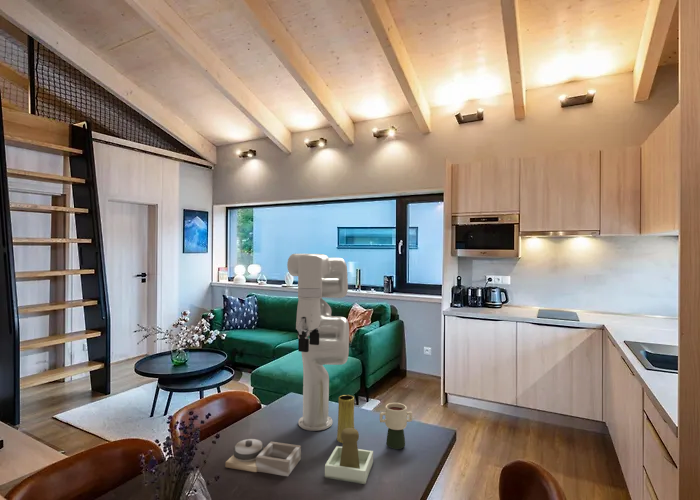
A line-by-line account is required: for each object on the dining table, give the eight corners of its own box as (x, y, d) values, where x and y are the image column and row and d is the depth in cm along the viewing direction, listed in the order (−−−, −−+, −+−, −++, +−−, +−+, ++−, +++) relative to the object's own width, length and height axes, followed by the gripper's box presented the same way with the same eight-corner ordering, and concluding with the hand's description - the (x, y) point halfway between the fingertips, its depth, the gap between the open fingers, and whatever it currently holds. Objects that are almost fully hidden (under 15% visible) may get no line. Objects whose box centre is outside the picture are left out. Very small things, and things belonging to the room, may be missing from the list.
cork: (357, 474, 112) (358, 435, 112) (337, 471, 113) (337, 433, 113) (361, 463, 118) (362, 426, 118) (341, 461, 119) (342, 424, 119)
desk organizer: (244, 449, 127) (244, 432, 127) (301, 458, 122) (301, 440, 122) (225, 467, 116) (225, 448, 116) (287, 477, 111) (287, 457, 111)
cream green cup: (409, 440, 134) (409, 402, 134) (414, 451, 127) (415, 410, 127) (377, 441, 133) (378, 402, 133) (381, 452, 126) (381, 411, 126)
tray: (336, 457, 122) (336, 446, 123) (373, 462, 120) (373, 451, 120) (324, 477, 111) (324, 465, 111) (365, 484, 108) (365, 471, 108)
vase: (357, 437, 136) (357, 395, 136) (351, 445, 130) (351, 401, 131) (340, 434, 138) (341, 393, 138) (334, 442, 132) (334, 399, 133)
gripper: (308, 290, 134) (307, 341, 134) (287, 295, 117) (286, 353, 117) (329, 291, 132) (328, 343, 132) (311, 296, 115) (310, 355, 115)
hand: (309, 348), depth 124 cm, fingers open, 9 cm apart
